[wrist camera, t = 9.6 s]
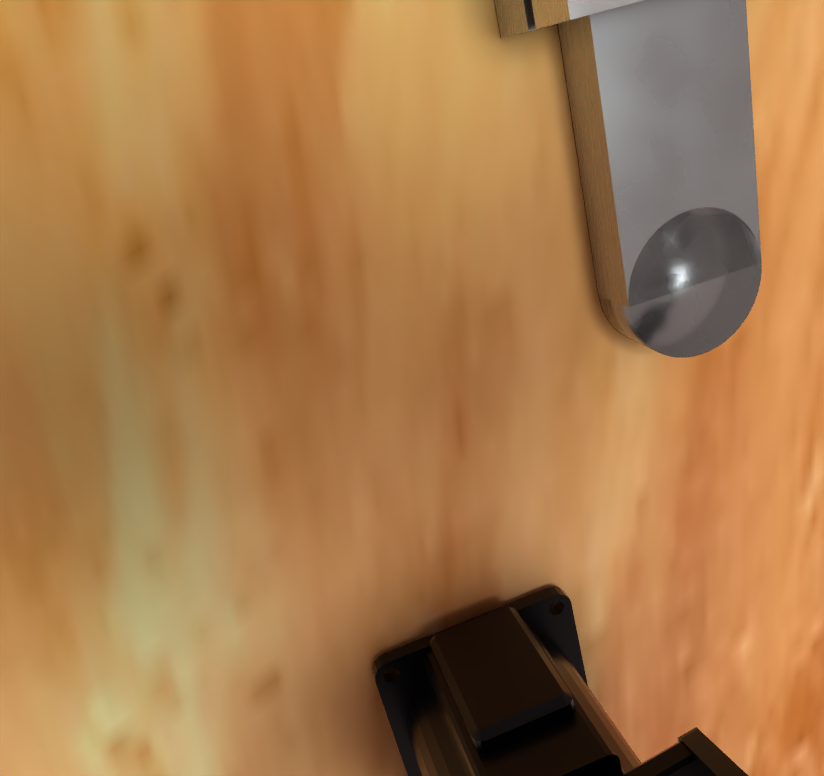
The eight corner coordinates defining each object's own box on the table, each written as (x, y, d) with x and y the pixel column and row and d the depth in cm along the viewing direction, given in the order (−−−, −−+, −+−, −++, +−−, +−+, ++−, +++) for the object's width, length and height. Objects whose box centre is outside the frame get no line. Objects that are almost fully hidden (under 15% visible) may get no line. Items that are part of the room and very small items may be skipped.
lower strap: (771, 302, 23) (810, 315, 21) (561, 376, 21) (588, 394, 20) (733, -384, 16) (786, -433, 15) (435, -331, 15) (460, -379, 14)
